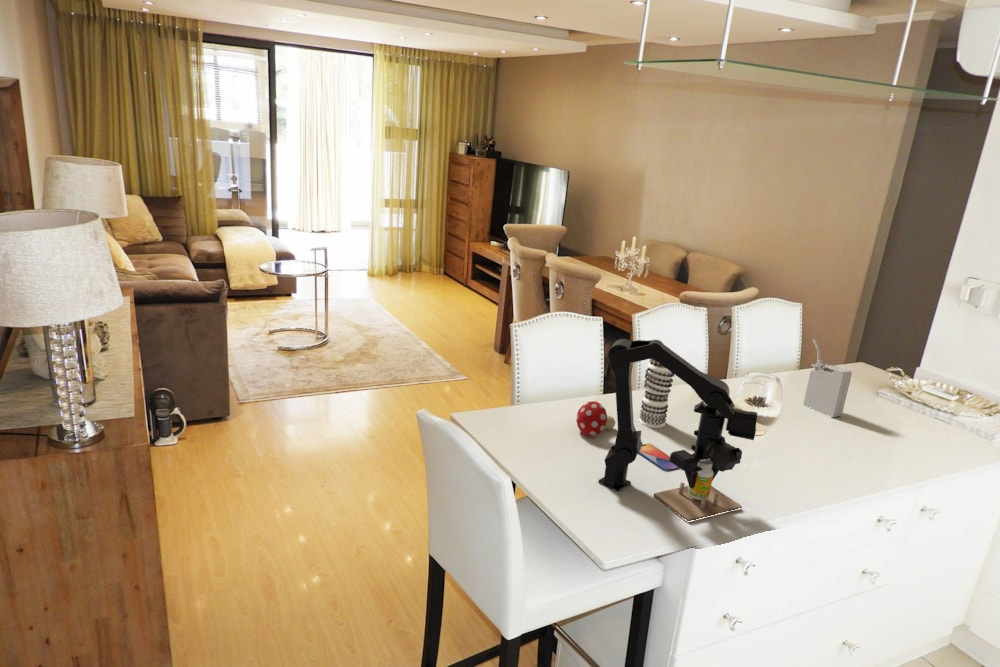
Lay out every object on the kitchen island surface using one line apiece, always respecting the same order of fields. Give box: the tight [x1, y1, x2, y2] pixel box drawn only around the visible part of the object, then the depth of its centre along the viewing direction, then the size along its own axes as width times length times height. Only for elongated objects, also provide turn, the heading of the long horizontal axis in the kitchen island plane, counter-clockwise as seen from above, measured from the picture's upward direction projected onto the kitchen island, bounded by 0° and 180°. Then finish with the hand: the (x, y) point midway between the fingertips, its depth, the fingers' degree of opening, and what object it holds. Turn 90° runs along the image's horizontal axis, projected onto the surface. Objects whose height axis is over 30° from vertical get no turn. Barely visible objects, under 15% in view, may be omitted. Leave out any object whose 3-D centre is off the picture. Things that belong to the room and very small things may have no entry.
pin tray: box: [653, 482, 743, 521], centre depth 171 cm, size 18×13×4 cm
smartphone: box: [638, 443, 681, 472], centre depth 195 cm, size 7×15×1 cm, turn 28°
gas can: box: [803, 338, 853, 418], centre depth 240 cm, size 15×5×25 cm, turn 26°
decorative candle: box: [638, 359, 675, 429], centre depth 216 cm, size 9×9×25 cm
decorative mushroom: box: [575, 400, 616, 437], centre depth 208 cm, size 11×11×15 cm
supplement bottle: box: [688, 459, 714, 500], centre depth 169 cm, size 5×5×10 cm
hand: (699, 486), depth 170 cm, fingers closed on supplement bottle, 5 cm apart
